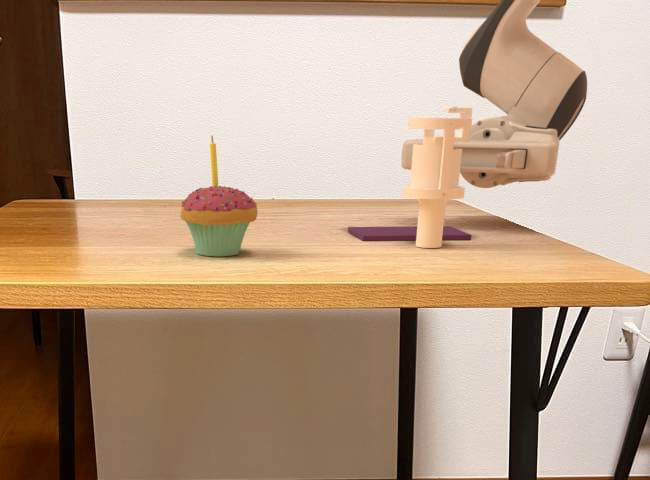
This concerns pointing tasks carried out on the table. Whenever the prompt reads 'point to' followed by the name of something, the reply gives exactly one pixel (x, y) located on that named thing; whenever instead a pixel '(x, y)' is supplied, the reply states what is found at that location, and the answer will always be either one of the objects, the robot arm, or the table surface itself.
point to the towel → (402, 233)
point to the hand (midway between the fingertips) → (464, 159)
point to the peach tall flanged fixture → (436, 172)
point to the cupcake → (218, 216)
